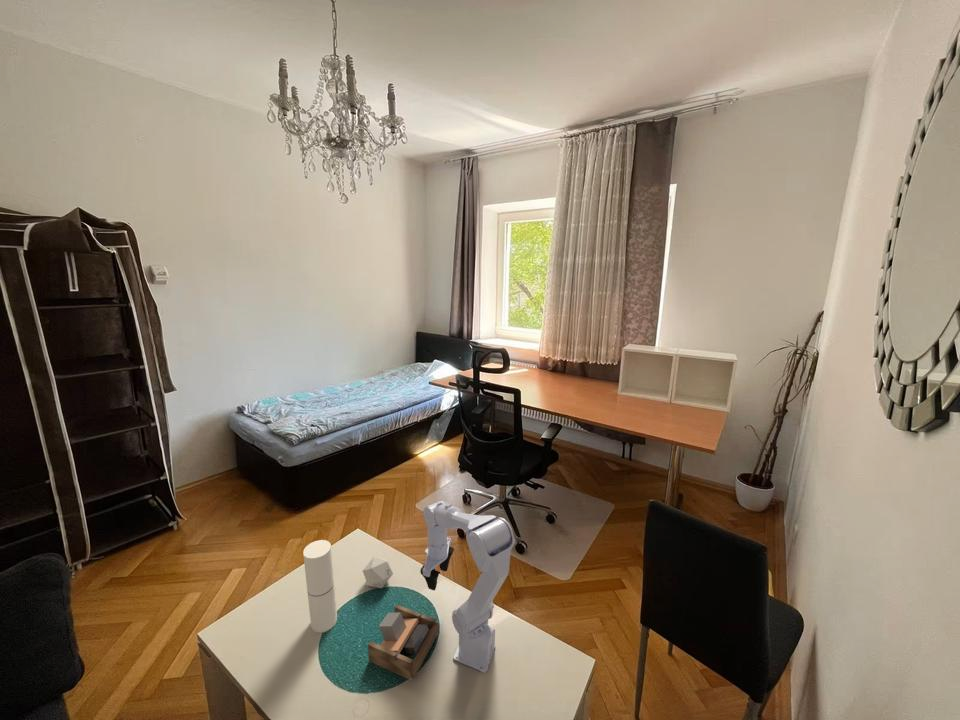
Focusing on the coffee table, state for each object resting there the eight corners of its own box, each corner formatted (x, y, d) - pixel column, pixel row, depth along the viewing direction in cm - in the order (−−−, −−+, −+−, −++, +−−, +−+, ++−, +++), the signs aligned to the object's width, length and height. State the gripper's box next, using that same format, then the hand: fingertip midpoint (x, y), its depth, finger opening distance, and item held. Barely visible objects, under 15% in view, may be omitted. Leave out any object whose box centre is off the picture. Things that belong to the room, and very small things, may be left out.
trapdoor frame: (439, 635, 106) (438, 619, 105) (414, 682, 94) (413, 664, 93) (397, 619, 111) (396, 603, 110) (368, 661, 99) (367, 644, 98)
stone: (406, 626, 104) (400, 612, 104) (397, 641, 100) (391, 626, 100) (394, 626, 106) (388, 612, 106) (384, 640, 102) (378, 626, 102)
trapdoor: (431, 626, 104) (428, 618, 104) (413, 659, 95) (409, 651, 95) (401, 626, 109) (398, 618, 109) (380, 658, 100) (377, 650, 100)
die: (368, 599, 119) (386, 577, 117) (352, 576, 122) (370, 554, 121) (385, 589, 126) (402, 568, 125) (369, 567, 130) (386, 546, 129)
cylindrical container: (305, 629, 108) (297, 555, 102) (321, 608, 114) (314, 538, 109) (327, 635, 106) (320, 560, 100) (342, 613, 113) (336, 542, 107)
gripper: (436, 522, 118) (437, 558, 121) (412, 553, 105) (414, 593, 108) (457, 527, 116) (457, 565, 119) (435, 560, 102) (435, 601, 106)
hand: (438, 579), depth 113 cm, fingers open, 7 cm apart
